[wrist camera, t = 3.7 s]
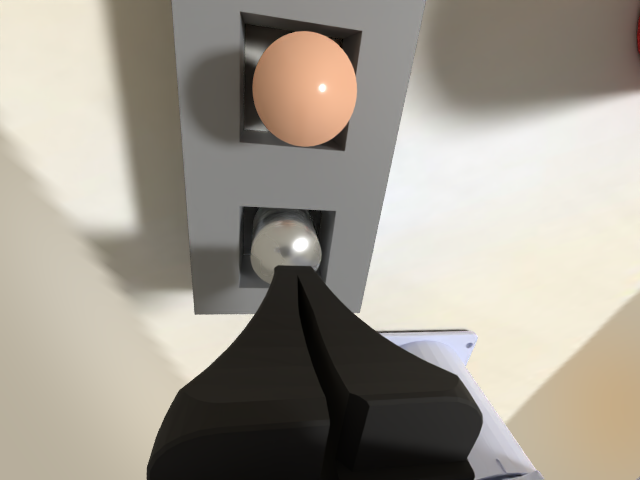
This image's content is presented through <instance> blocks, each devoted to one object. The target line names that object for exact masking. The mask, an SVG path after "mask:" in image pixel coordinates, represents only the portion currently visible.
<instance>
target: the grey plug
mask: <svg viewBox="0 0 640 480" xmlns="http://www.w3.org/2000/svg"><path fill="white" fill-rule="evenodd" d="M321 256H322V253H321V247H320V244H319V241H318V238H317V235H316V232H315V229H314V225H313V222H312V219H311V216H310V214H309V212H308V210H307V209H288V208H268V207H260V208H259V210H258V211H257V213H256V214H255V217H254V220H253V230H252V244H251V264H252V267H253V269H254V271H255V273H256V274H257V275H258V276H259V277H260V278H261V279H262V280H264V281H265V282H267V283H269V284H271V282H272V279H273V275H274V268H275V267H276V266H277V265H289V266H311V267H312V268H313V269H314V270H315V271H317V269H318V267H319V265H320V262H321Z"/></svg>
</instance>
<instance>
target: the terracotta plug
mask: <svg viewBox="0 0 640 480" xmlns="http://www.w3.org/2000/svg"><path fill="white" fill-rule="evenodd" d="M356 98H357V82H356V76H355V72H354V69H353V66H352V64H351V62H350V60H349V58H348V56H347V55H346V53H345V52H344V51H343V49H342V48H341V47H340V46H339V45H338V44H336V43H335V42H334V41H333V40H331V39H330V38H328V37H326V36H324V35H321V34H319V33H315V32H309V31H299V32H293V33H289V34H287V35H284V36H282V37H281V38H279V39H277V40H276V41H275V42H273V43H272V44H271V45H270V46H269V47H268V48H267V49H266V50H265V52H264V53H263V55H262V56H261V58H260V60H259V62H258V64H257V66H256V69H255V73H254V78H253V99H254V104H255V107H256V110H257V112H258V115H259V117H260V119H261V120H262V122H263V124H264V125H265V126H266V128H267V129H268V130H269V131H270V132H271V133H272V134H273V135H275V136H276V137H277V138H279V139H280V140H282V141H284V142H286V143H288V144H292V145H295V146H302V147H309V146H316V145H319V144H322V143H325V142H327V141H329V140H330V139H332V138H333V137H335V136H336V135H337V134H338V133H339V132H341V131H342V129H343V128H344V127H345V126H346V124H347V123H348V121H349V119H350V117H351V115H352V113H353V110H354V107H355V103H356Z"/></svg>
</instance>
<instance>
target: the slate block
mask: <svg viewBox="0 0 640 480" xmlns="http://www.w3.org/2000/svg"><path fill="white" fill-rule="evenodd" d="M425 3H426V0H172V14H173V27H174V41H175V55H176V68H177V82H178V95H179V109H180V122H181V136H182V149H183V163H184V176H185V190H186V204H187V217H188V231H189V244H190V258H191V271H192V285H193V298H194V312H195V315H197V314H255V313H256V312H257V310H258V308H259V306H260V305H261V303H262V301H263V299H264V298H265V296H266V293H267V291H268V289H269V287H270V284H269V283H267V282H265V281H264V280H262V279H261V278H260V277H259V276H258V275H257V274H256V273H255V271H254V269H253V267H252V264H251V256H249V255H243V206H248V207H268V208H288V209H308V210H322V213H321V221H320V229H319V237H318V241H319V244H320V247H321V253H322V256H321V262H320V265H319V267H318V269H317V271H316V273H317V274H318V275H319V277H320V278H321V279H322V280H323V282H324V283H325V284H326V285H327V286H328V288H329V289H330V290H331V291H332V292H333V293H334V294H335V295H336V296H337V298H338V299H339V300H340V301H341V302H342V303H343V304H344V305H345V306H346V307H347V308H348V309H349V310H350V311H351V312H353V313H360V309H361V304H362V300H363V295H364V290H365V286H366V281H367V276H368V271H369V267H370V262H371V257H372V253H373V248H374V243H375V238H376V234H377V229H378V224H379V220H380V215H381V210H382V205H383V201H384V196H385V191H386V187H387V182H388V177H389V172H390V168H391V163H392V158H393V154H394V149H395V144H396V140H397V135H398V130H399V125H400V121H401V116H402V111H403V107H404V102H405V97H406V92H407V88H408V83H409V78H410V74H411V69H412V64H413V59H414V55H415V50H416V45H417V41H418V36H419V31H420V26H421V22H422V17H423V12H424V8H425ZM245 24H250V25H257V26H263V27H270V28H276V29H283V30H290V31H296V32H299V31H309V32H315V33H319V34H321V35H324V36H329V37H335V38H342V39H343V45H342V49H343V51H344V52H345V53H346V55H347V56H348V58H349V60H350V62H351V64H352V66H353V69H354V72H355V76H356V82H357V98H356V103H355V107H354V110H353V113H352V115H351V117H350V119H349V121H348V123H347V124H346V126H345V127H344V128H343V129H342V131H341V132H339V133H338V134H337V135H336V136H335V137H333V138H332V139H330V140H329V141H327V142H325V143H322V144H319V145H316V146H309V147H302V146H295V145H292V144H288V143H286V142H284V141H282V140H280V139H279V138H277V137H276V136H275V135H273V134H272V133H271V132H266V131H255V130H245V129H244V58H245Z"/></svg>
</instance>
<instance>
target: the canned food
mask: <svg viewBox="0 0 640 480" xmlns="http://www.w3.org/2000/svg"><path fill="white" fill-rule="evenodd" d="M637 41H638V51H639V54H640V16H639V22H638V32H637Z"/></svg>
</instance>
